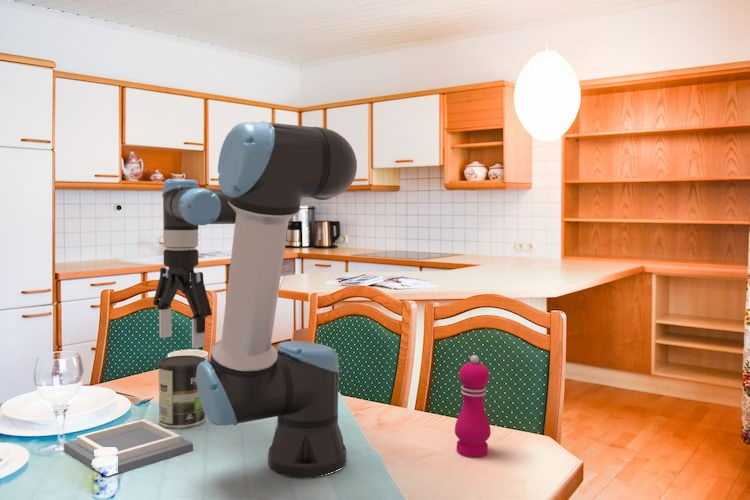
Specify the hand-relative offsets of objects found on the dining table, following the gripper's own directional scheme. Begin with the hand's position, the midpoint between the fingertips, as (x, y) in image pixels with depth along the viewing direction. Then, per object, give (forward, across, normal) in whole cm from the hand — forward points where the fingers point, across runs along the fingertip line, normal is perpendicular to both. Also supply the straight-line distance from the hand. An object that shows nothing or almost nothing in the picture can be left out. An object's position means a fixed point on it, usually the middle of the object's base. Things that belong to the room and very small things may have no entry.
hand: (181, 342), depth 148 cm
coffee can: (+18, 0, 0) cm, 18 cm away
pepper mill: (+18, -58, -31) cm, 69 cm away
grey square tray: (+18, -8, +17) cm, 26 cm away
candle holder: (+19, +12, -9) cm, 24 cm away
